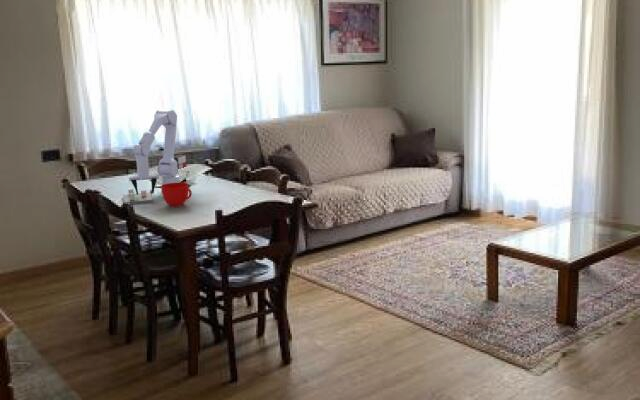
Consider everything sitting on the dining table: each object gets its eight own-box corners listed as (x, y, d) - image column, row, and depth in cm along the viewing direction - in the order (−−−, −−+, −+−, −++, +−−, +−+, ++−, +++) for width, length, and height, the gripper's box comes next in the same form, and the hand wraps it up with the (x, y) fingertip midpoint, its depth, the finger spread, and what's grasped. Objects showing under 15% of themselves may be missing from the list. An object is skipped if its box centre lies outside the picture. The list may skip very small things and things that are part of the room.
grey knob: (133, 194, 314) (132, 188, 314) (133, 194, 312) (133, 189, 311) (128, 194, 314) (128, 188, 313) (128, 195, 311) (128, 189, 311)
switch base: (150, 195, 320) (150, 192, 319) (153, 202, 302) (153, 199, 302) (123, 197, 315) (122, 194, 315) (124, 205, 298) (124, 202, 297)
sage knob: (134, 198, 303) (134, 192, 303) (135, 199, 301) (134, 193, 300) (129, 199, 302) (129, 193, 302) (130, 200, 300) (129, 194, 300)
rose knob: (146, 195, 311) (145, 189, 310) (146, 196, 309) (146, 190, 308) (141, 195, 310) (140, 189, 309) (141, 196, 308) (141, 190, 307)
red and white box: (180, 183, 351) (178, 157, 348) (173, 182, 352) (171, 157, 348) (188, 179, 361) (186, 154, 358) (181, 179, 362) (179, 154, 359)
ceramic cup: (182, 210, 285) (180, 189, 283) (157, 206, 294) (155, 186, 292) (201, 204, 296) (199, 184, 294) (176, 201, 305) (174, 181, 302)
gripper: (128, 169, 300) (130, 196, 303) (158, 167, 305) (160, 193, 308) (127, 167, 307) (130, 193, 310) (156, 165, 311) (159, 191, 314)
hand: (145, 193), depth 309 cm, fingers open, 7 cm apart
